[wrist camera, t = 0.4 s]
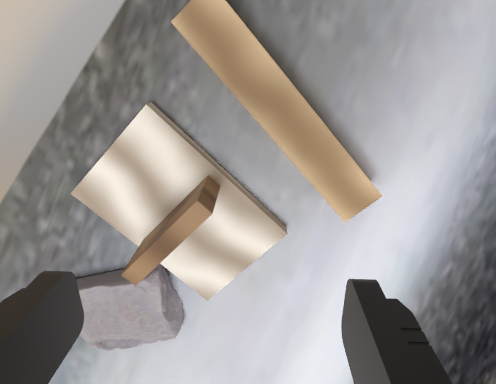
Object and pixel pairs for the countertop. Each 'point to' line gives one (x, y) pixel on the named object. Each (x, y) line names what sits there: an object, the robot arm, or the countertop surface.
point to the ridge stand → (177, 206)
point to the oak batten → (275, 104)
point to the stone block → (129, 309)
